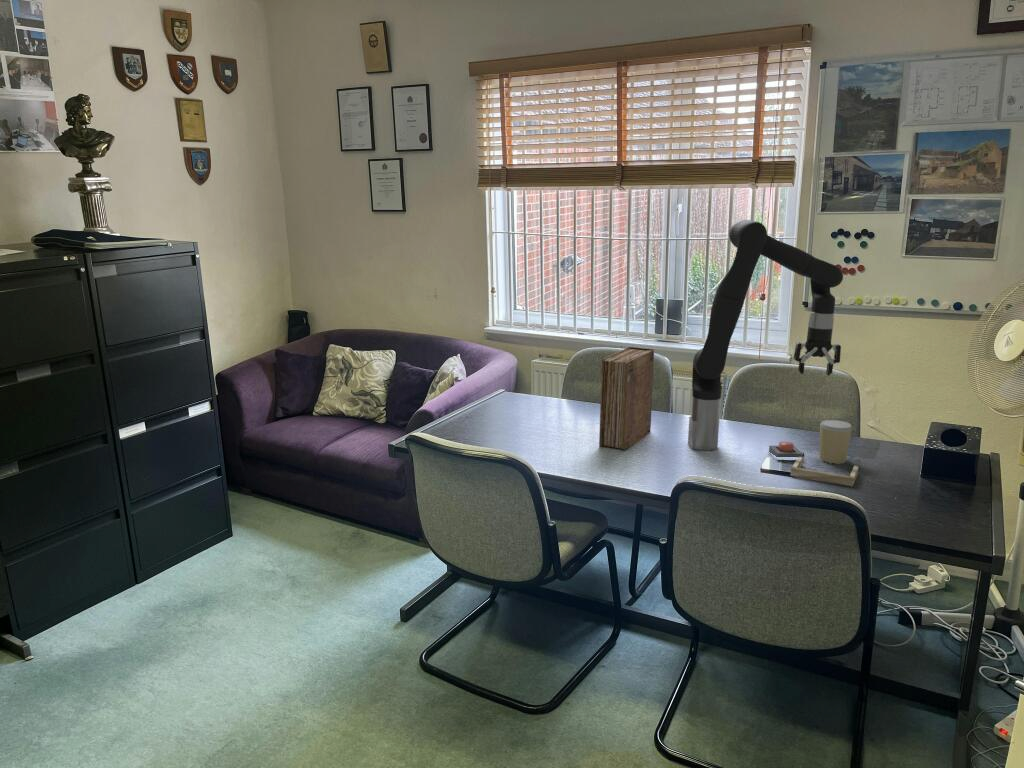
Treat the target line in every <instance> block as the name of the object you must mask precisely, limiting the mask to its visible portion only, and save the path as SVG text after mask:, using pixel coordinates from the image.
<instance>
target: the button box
mask: <svg viewBox="0 0 1024 768" xmlns="http://www.w3.org/2000/svg"><path fill="white" fill-rule="evenodd" d="M768 447H769V448H768V453H769V452H770V453H772V454H773V455H775V456H776V457H803V455H804V453H803V452H802V451H801V450H799V449H798V448H797V447H796V446H795V445H794V447H793V452H780V451H779V445H769V446H768ZM770 453H769V454H770ZM803 458H804V457H803Z"/></svg>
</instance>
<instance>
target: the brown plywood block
mask: <svg viewBox="0 0 1024 768" xmlns="http://www.w3.org/2000/svg"><path fill="white" fill-rule="evenodd" d="M654 358H655V349H651V348H641V347H633V346H632V347H631V346H629V347H626V348H624V349H622V350H620V351H618V352H615V353H613V354H611V355H609V356H606V357H604V358H602V359H601V370H600V371H601V376H600V377H601V379H600V381H601V382H600V402H599V404H600V406H599V409H600V411H599V436H598V437H599V439H598V441H599V443H598V447H599V448H601V447H603V446H604V447H608V448H615V449H616V448H617V449H620V450H621V449H623V451H624V452H625V451H627V450H628V449H630V448H632V447H633V446H634V445H635V444H636V443H638V442H639V441H640V440H641V439H643V438H644V437H645V436H647V435H648V434H649V433H650V432H651V430H652V429H651V428H652V427H651V426H652V407H653V404H652V403H653V386H654V385H653V381H654V364H655V363H654V362H655V361H654V360H655V359H654Z"/></svg>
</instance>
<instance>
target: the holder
mask: <svg viewBox="0 0 1024 768" xmlns="http://www.w3.org/2000/svg"><path fill="white" fill-rule="evenodd" d="M803 458H804V457H798V459H797V460H796V461H794V463H793V465H792V466H791V467H790V477H794V478H795V477H796V478H800V479H806V480H812V481H817V482H824V483H828V484H829V483H830V484H836V485H841V486H847V487H854V484H855V482H856V479H857V476H858V475H859V465H853V468H852V471H851V472H850V475H849V476H848V475H843V474H837V473H830V472H825V471H818V470H814V469H813V470H812V469H807V468H803V467H802V466H803V462H804V461H803V460H804V459H803ZM801 467H802V468H801Z"/></svg>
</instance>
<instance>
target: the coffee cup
mask: <svg viewBox="0 0 1024 768" xmlns="http://www.w3.org/2000/svg"><path fill="white" fill-rule="evenodd" d="M819 427H820V428H819V429H820V431H819V460H820V459H821V460H822V462H824V461H825V462H824V463H827V462H829V463H828V464H832V463H836V464H835V465H840V464H841V463H842V464H845V463H846V461H847V456H848V451H849V446H850V441H851V435H852V431H853V426H852V424H851V423H849V422H847V421H843V420H837V419H836V420H835V419H826V420H822V421H821V423H820V424H819ZM821 460H820V461H821ZM844 462H845V463H844Z"/></svg>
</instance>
